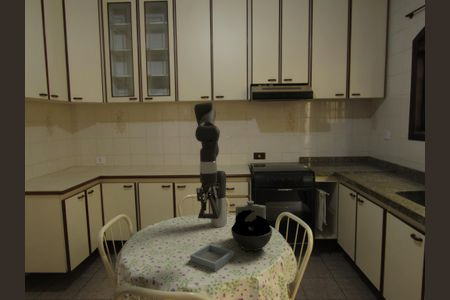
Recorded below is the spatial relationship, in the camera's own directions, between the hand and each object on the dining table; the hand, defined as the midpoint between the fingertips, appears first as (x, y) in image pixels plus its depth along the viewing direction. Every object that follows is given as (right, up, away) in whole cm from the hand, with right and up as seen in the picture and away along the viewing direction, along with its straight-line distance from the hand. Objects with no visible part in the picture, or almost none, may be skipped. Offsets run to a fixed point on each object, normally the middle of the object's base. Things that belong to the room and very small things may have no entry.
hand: (209, 208), depth 123 cm
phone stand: (0, -4, 0) cm, 4 cm away
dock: (+1, -24, +2) cm, 24 cm away
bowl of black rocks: (+20, -23, +13) cm, 33 cm away
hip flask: (+21, -22, +26) cm, 40 cm away
